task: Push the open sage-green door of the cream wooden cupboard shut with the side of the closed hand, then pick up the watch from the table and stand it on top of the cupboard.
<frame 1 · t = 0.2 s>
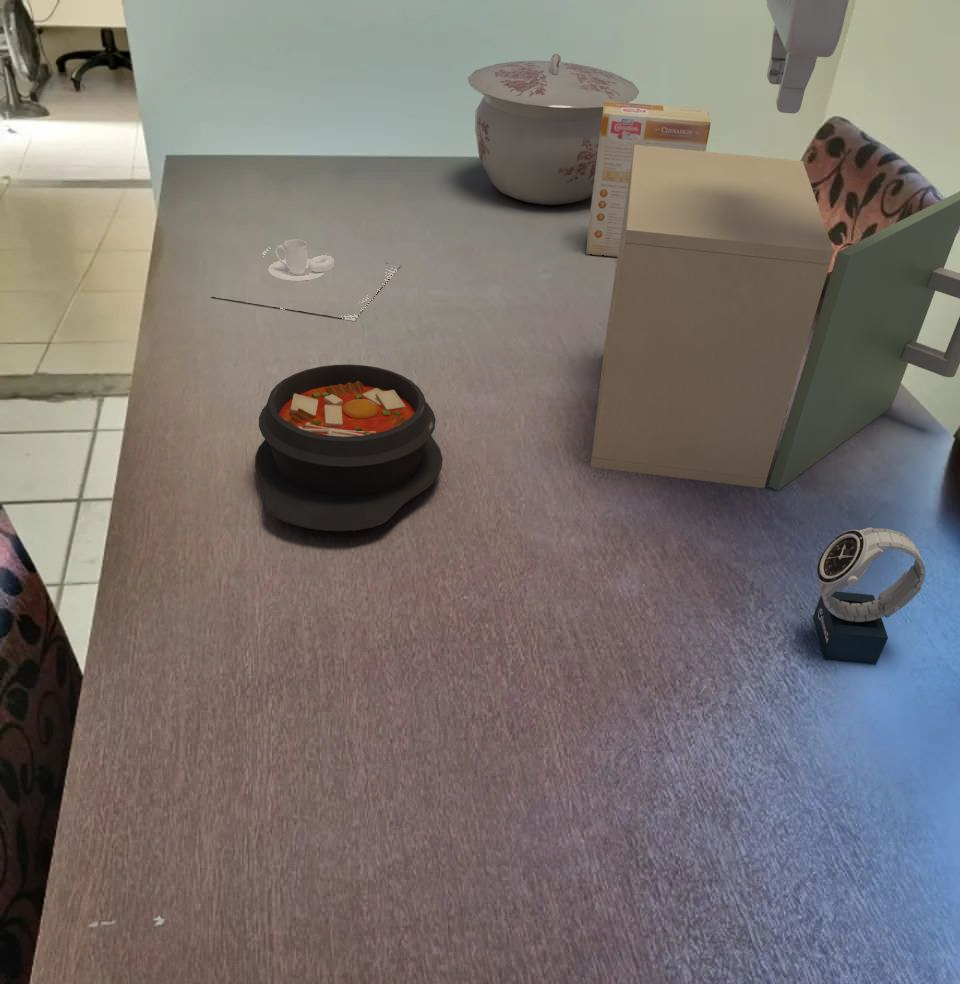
hand: (781, 96, 81), 35 cm above the table, tool pointing down, fingers open, 8 cm apart
casserole: (350, 475, 98), on the table
cupboard door: (895, 351, 98), point 12 cm above the table, hinge at 35.0°
coffeecake box: (634, 252, 148), on the table
chamber pot: (544, 193, 166), on the table
watch: (841, 643, 83), on the table
teacup and saucer: (310, 282, 134), on the table
cupboard: (675, 416, 111), on the table
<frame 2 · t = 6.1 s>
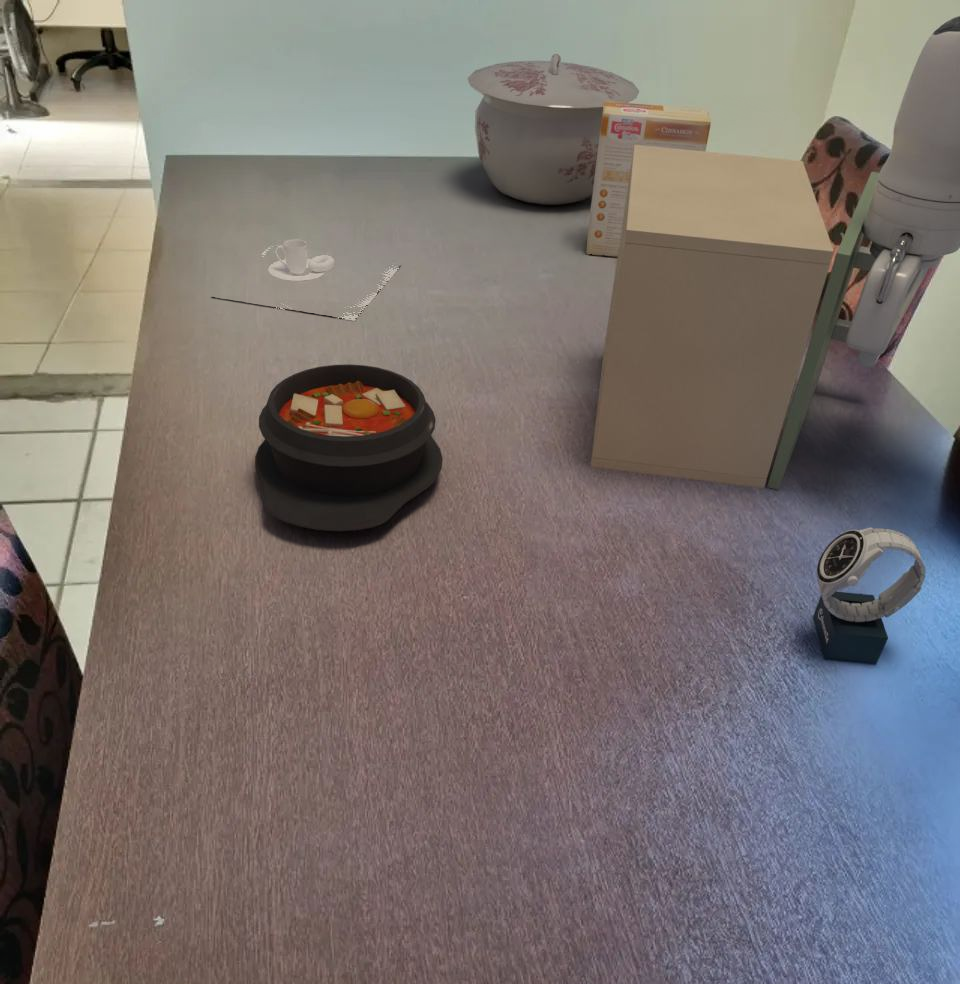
hand: (867, 360, 98), 11 cm above the table, tool pointing down, fingers closed
cupboard door: (854, 335, 100), point 12 cm above the table, hinge at 15.0°, touching arm
everything else where it was.
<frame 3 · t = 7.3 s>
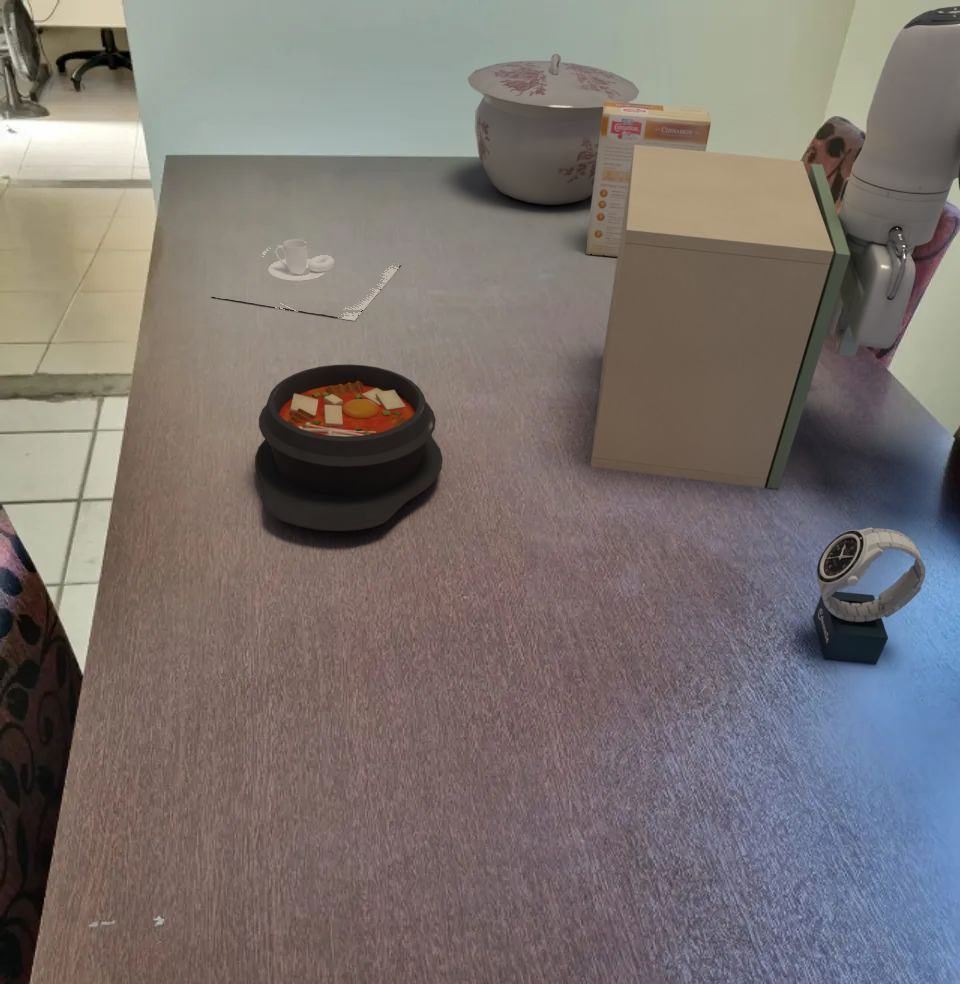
hand: (844, 350, 100), 11 cm above the table, tool pointing down, fingers closed
cupboard door: (823, 327, 101), point 12 cm above the table, hinge at 1.4°, touching arm
everything else where it was.
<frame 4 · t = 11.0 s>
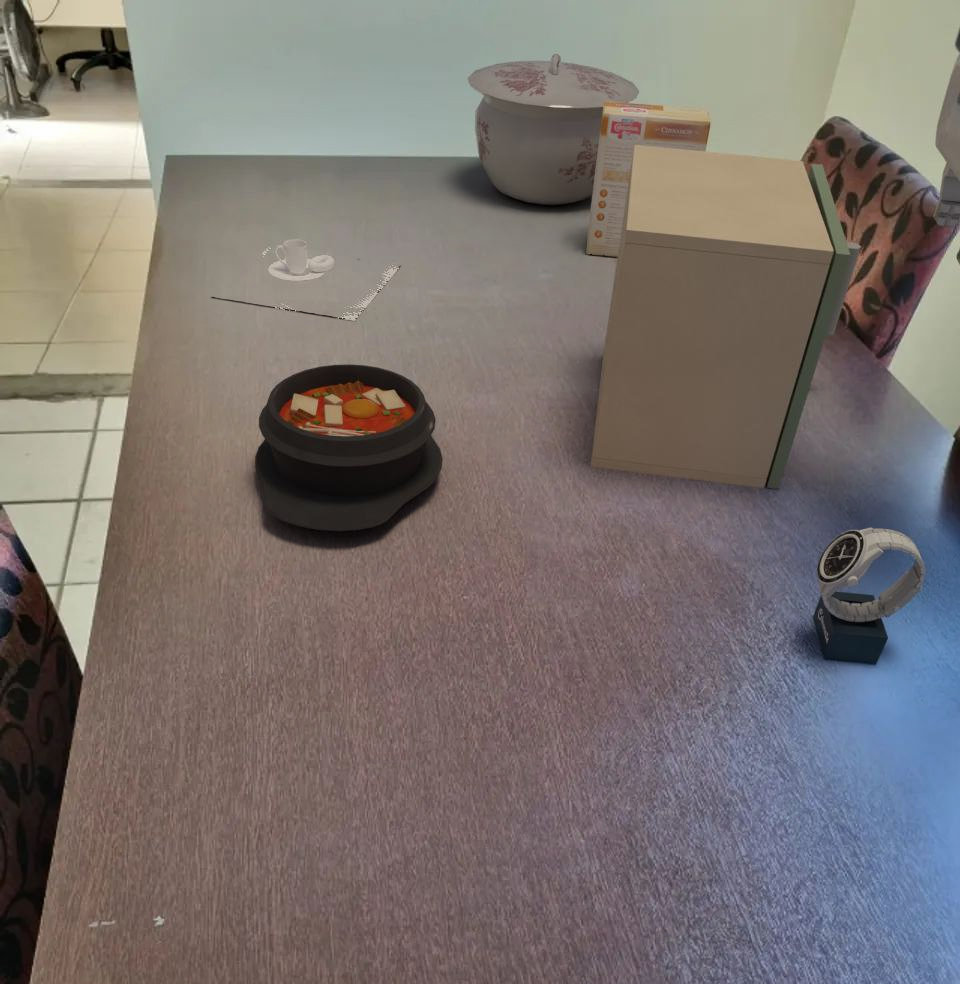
hand: (955, 244, 78), 27 cm above the table, tool pointing down, fingers open, 8 cm apart
cupboard door: (823, 327, 101), point 12 cm above the table, hinge at 1.4°
everything else where it was.
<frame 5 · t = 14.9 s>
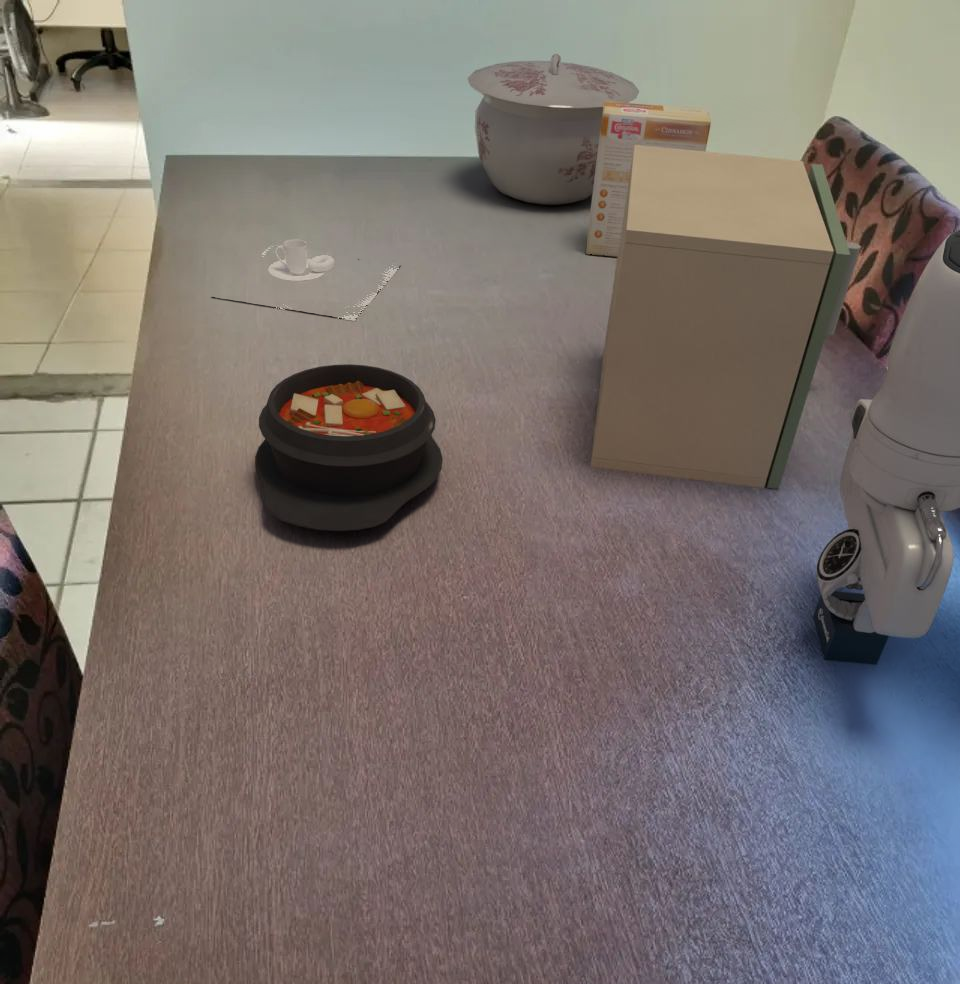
hand: (857, 604, 80), 4 cm above the table, tool pointing down, fingers closed on watch, 4 cm apart
watch: (842, 642, 83), on the table, touching gripper
everything else where it was.
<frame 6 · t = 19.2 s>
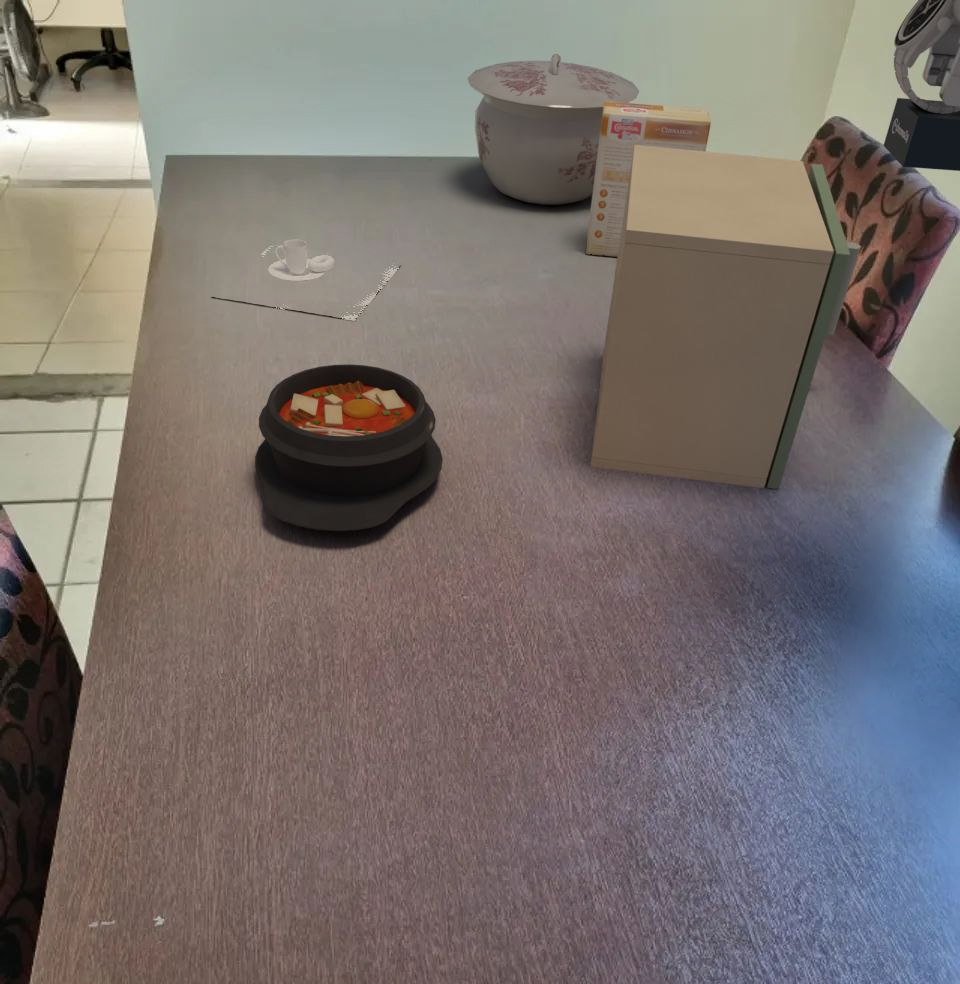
hand: (943, 93, 66), 39 cm above the table, tool pointing down, fingers closed on watch, 4 cm apart
watch: (921, 161, 69), point 35 cm above the table, touching gripper
everything else where it was.
when the fingers open (29 cm above the table, at t = 23.9 s): watch stays where it is, resting on cupboard.
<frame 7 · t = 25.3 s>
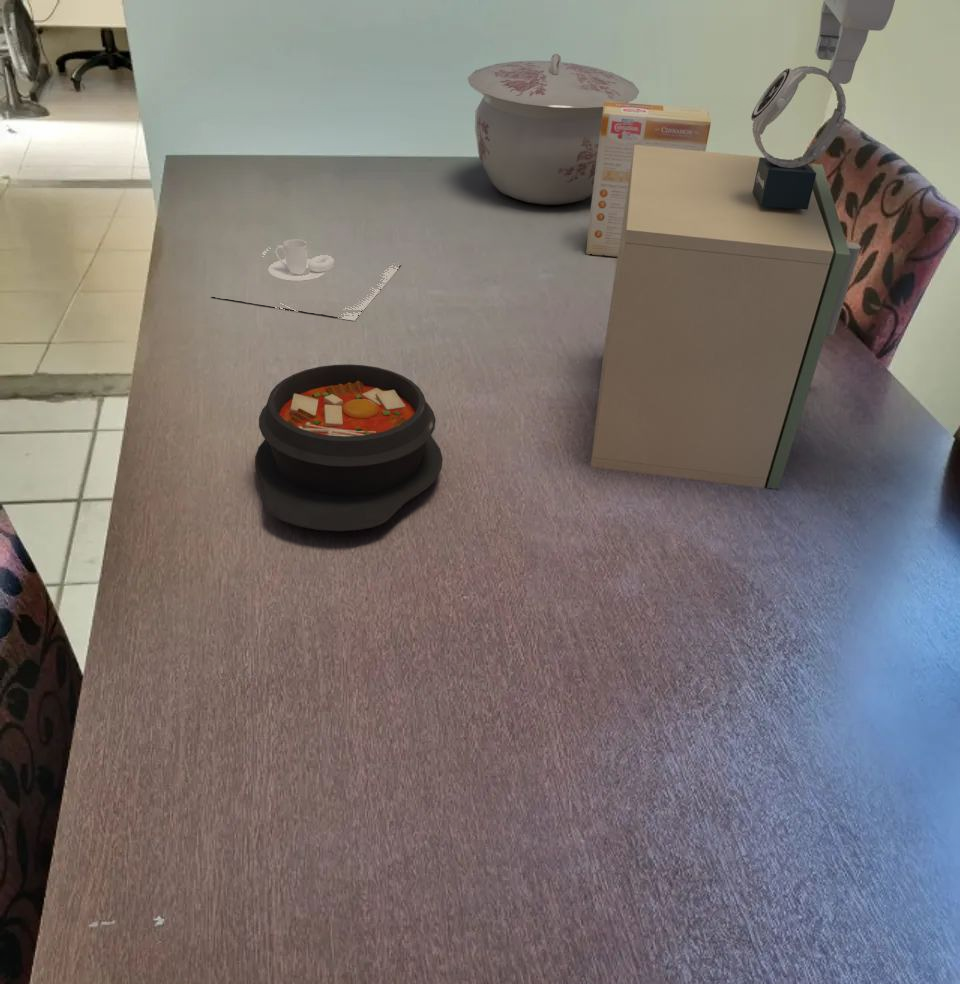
hand: (831, 69, 88), 35 cm above the table, tool pointing down, fingers open, 8 cm apart
watch: (777, 203, 92), point 24 cm above the table, touching cupboard
everything else where it was.
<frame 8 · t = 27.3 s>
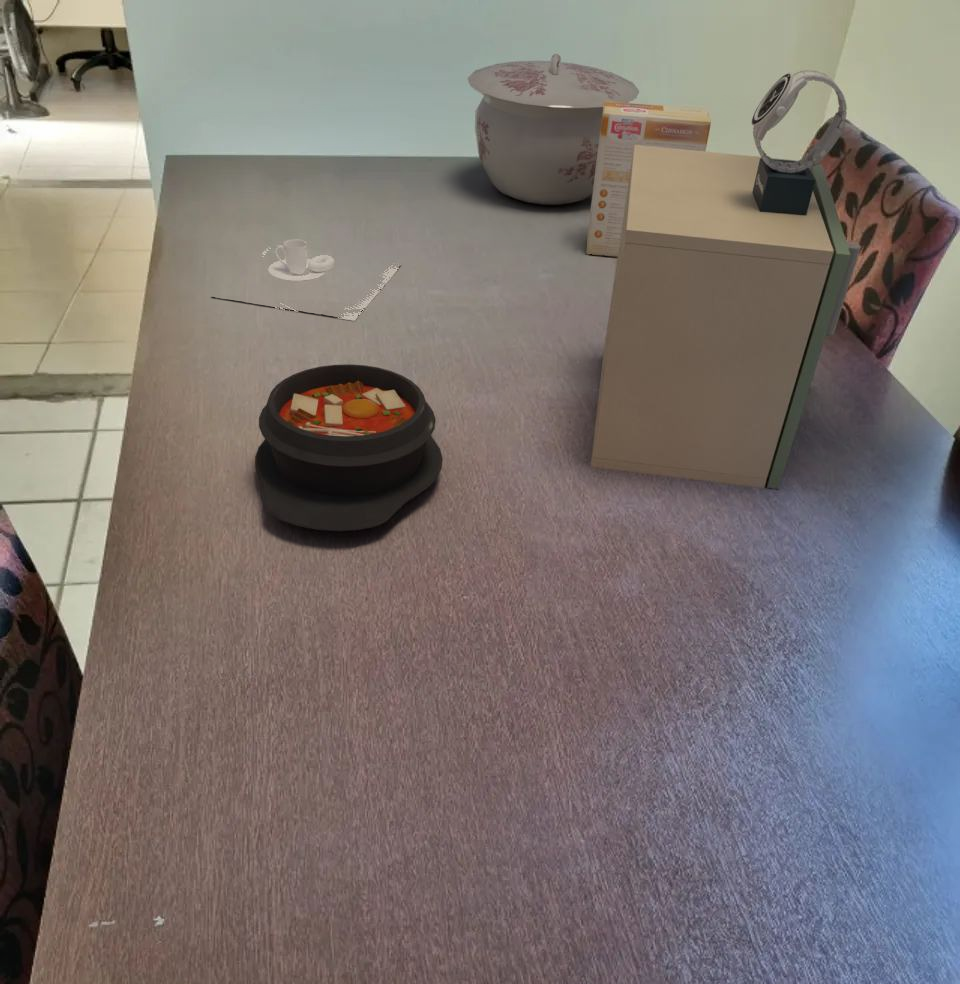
nothing on the table moved.
at the end: cupboard door at +1° (first picture: +35°); watch inside the target area on the cupboard (5.5 cm from its centre), point 24.2 cm above the cupboard's base; watch tilted 0° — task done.
